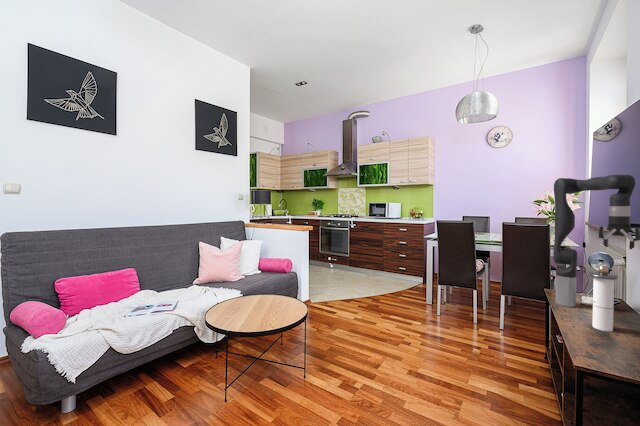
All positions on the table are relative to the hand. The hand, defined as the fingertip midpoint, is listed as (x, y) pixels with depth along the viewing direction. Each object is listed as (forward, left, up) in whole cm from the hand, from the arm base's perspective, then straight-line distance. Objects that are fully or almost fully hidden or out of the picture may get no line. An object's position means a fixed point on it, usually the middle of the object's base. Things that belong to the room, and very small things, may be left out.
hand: (618, 247), depth 145 cm
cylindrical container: (+8, -10, -38) cm, 40 cm away
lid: (+8, -10, -13) cm, 18 cm away
